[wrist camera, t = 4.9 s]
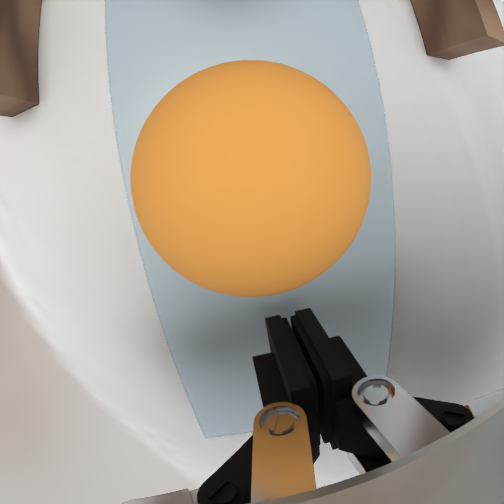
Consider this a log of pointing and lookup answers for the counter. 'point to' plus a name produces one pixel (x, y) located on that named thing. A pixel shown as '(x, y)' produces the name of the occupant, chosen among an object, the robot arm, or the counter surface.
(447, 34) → the fence
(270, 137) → the ball
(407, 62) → the counter surface
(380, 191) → the lane
